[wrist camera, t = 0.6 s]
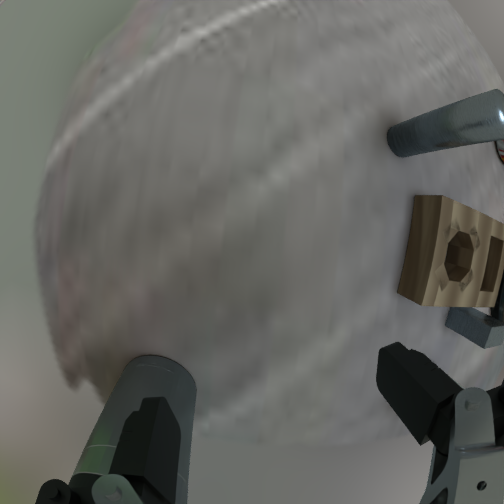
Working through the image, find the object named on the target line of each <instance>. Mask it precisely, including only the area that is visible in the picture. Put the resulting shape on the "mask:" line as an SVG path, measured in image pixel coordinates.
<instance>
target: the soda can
mask: <svg viewBox="0 0 504 504" xmlns="http://www.w3.org/2000/svg"><path fill="white" fill-rule="evenodd" d="M496 144H497V149H498V153H499V155H500V157H501V159H502V160H503V162H504V140H498V141H496Z"/></svg>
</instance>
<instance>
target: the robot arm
mask: <svg viewBox="0 0 504 504" xmlns="http://www.w3.org/2000/svg"><path fill="white" fill-rule="evenodd" d="M376 382H377V386H378V389H379V391H380V393H381V394H382V395H383V397H384V398H385V399H386V400H387V402H388V403H389V404H390V406H391V407H392V408H393V410H394V411H395V412H396V414H397V415H398V416H399V418H400V419H401V420H402V422H403V423H404V424H405V426H406V427H407V428H408V430H409V431H410V432H411V434H412V435H413V436H414V438H415V439H416V440H417V442H418V443H419V444H420V446H421V445H422V444H424V443H426V442H428V441H429V440H431V441H432V442H433V444H434V447H433V453H432V460H431V466H430V472H429V477H428V482H427V487H426V490H425V493H424V495H423V497H422V499H421V501H420V503H419V504H503V499H504V380H503V382H502V385H501V386H498V387H496V388H493V389H491V390H488V391H484V390H483V389H481V388H476V387H470V388H466V389H463V388H462V387H460V386H459V385H458V384H457V383H456V382H455V381H454V380H453V379H452V378H450V377H449V376H448V375H447V374H446V373H445V372H444V371H443V370H441V369H440V368H438V366H437V365H436V364H435V363H434V362H431V360H430V359H429V358H428V357H427V356H426V355H424V354H423V353H421V352H418V351H416V350H413V349H411V350H408V349H407V348H406V347H405V346H403V345H402V344H401V343H400V342H395V343H393V344H390V345H388V346H385V347H383V348H381V349H380V350H379V355H378V365H377V375H376ZM196 391H197V390H196V385H195V382H194V380H193V378H192V377H191V375H190V374H189V373H188V371H186V370H185V369H184V368H183V367H182V366H180V365H179V364H177V363H176V362H174V361H172V360H169V359H167V358H164V357H160V356H151V355H149V356H141V357H138V358H135V359H134V360H132V361H131V362H130V363H129V364H128V365H127V366H126V368H125V369H124V371H123V373H122V375H121V377H120V379H119V381H118V382H117V384H116V386H115V388H114V390H113V391H112V393H111V395H110V397H109V399H108V401H107V403H106V405H105V407H104V409H103V411H102V413H101V415H100V417H99V419H98V421H97V423H96V425H95V427H94V429H93V431H92V433H91V435H90V437H89V440H88V442H87V444H86V446H85V448H84V450H83V452H82V455H81V457H80V459H79V461H78V464H77V466H76V468H75V471H74V473H73V475H72V478H71V480H70V482H69V485H67V484H66V483H65V482H63V481H61V480H58V479H52V480H49V481H47V482H45V483H44V484H43V485H42V487H41V489H40V491H39V494H38V497H37V500H36V503H35V504H187V498H188V478H189V465H190V452H191V441H192V430H193V420H194V412H195V401H196Z"/></svg>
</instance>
